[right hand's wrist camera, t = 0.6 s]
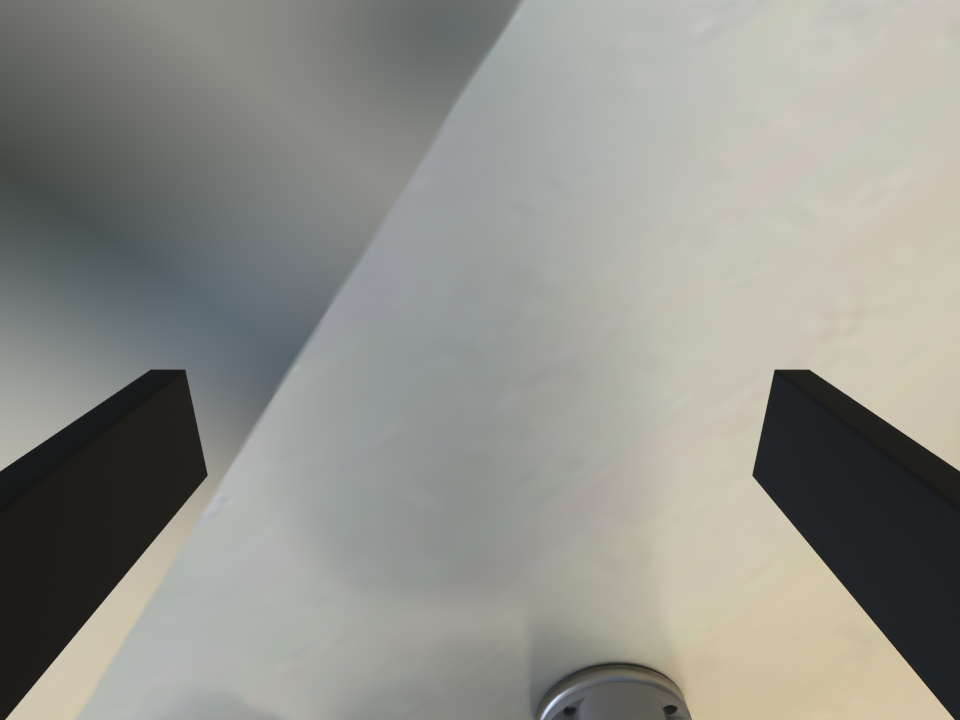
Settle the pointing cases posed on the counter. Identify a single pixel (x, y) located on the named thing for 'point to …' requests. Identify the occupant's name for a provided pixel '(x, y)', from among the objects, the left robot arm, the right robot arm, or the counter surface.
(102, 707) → the counter surface
